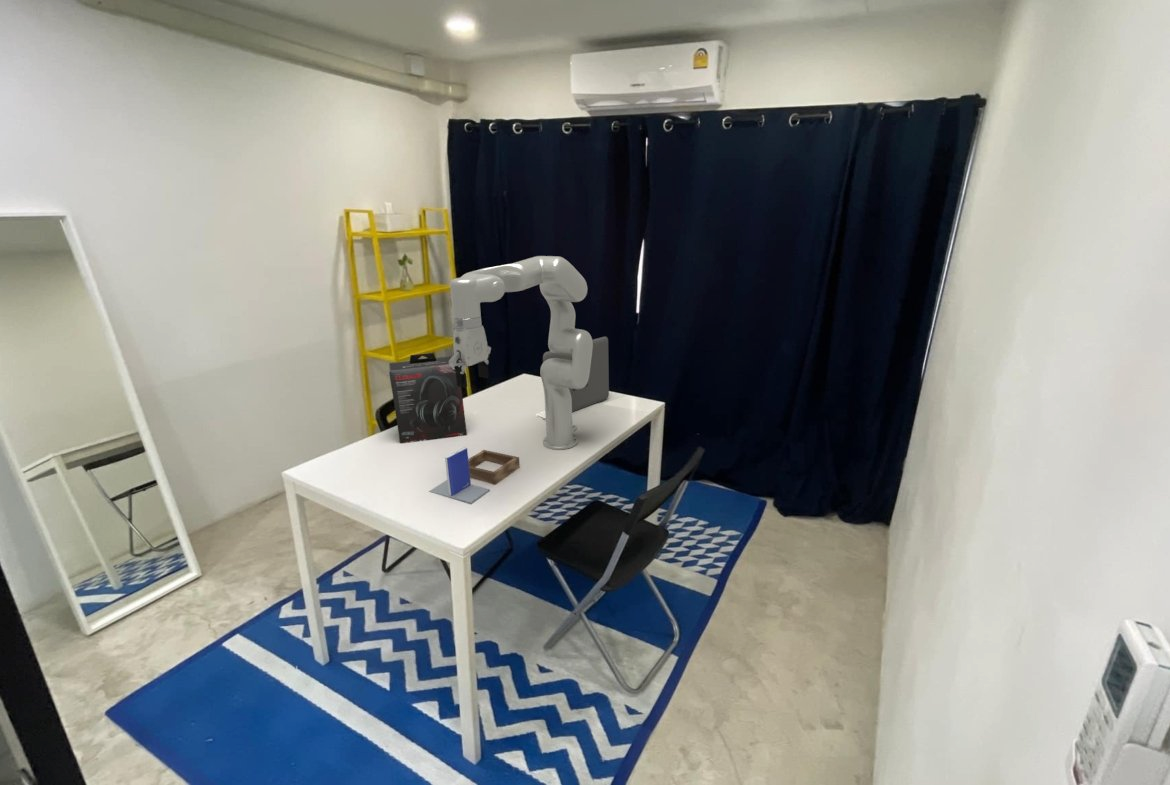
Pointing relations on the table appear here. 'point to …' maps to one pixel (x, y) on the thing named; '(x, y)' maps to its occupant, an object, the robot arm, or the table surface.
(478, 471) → the wooden square frame
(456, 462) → the hard drive
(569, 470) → the table surface
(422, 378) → the headset box
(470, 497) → the mat
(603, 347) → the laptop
